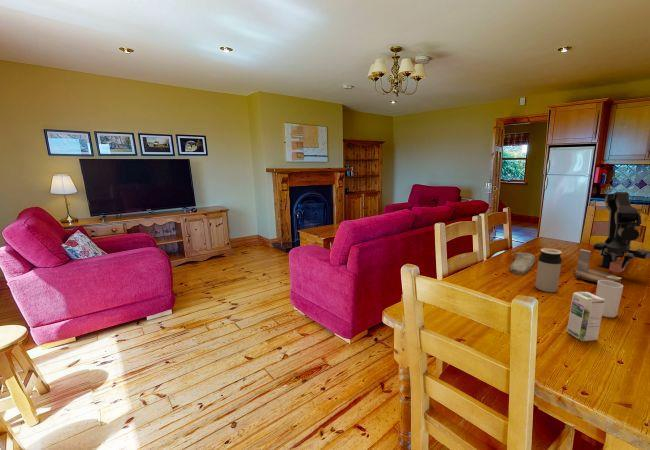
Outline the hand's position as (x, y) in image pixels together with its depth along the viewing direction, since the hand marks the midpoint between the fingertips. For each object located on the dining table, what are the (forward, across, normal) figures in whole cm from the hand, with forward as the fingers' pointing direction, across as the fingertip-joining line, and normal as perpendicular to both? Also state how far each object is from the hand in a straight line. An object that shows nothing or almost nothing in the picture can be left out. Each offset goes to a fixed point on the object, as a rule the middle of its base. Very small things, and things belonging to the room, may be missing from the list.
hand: (617, 267), depth 141 cm
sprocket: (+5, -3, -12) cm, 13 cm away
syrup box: (+5, +18, -72) cm, 74 cm away
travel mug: (+5, -8, -43) cm, 44 cm away
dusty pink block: (+2, 0, 0) cm, 2 cm away
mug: (+5, +14, -46) cm, 48 cm away
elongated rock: (+6, -32, -21) cm, 38 cm away
